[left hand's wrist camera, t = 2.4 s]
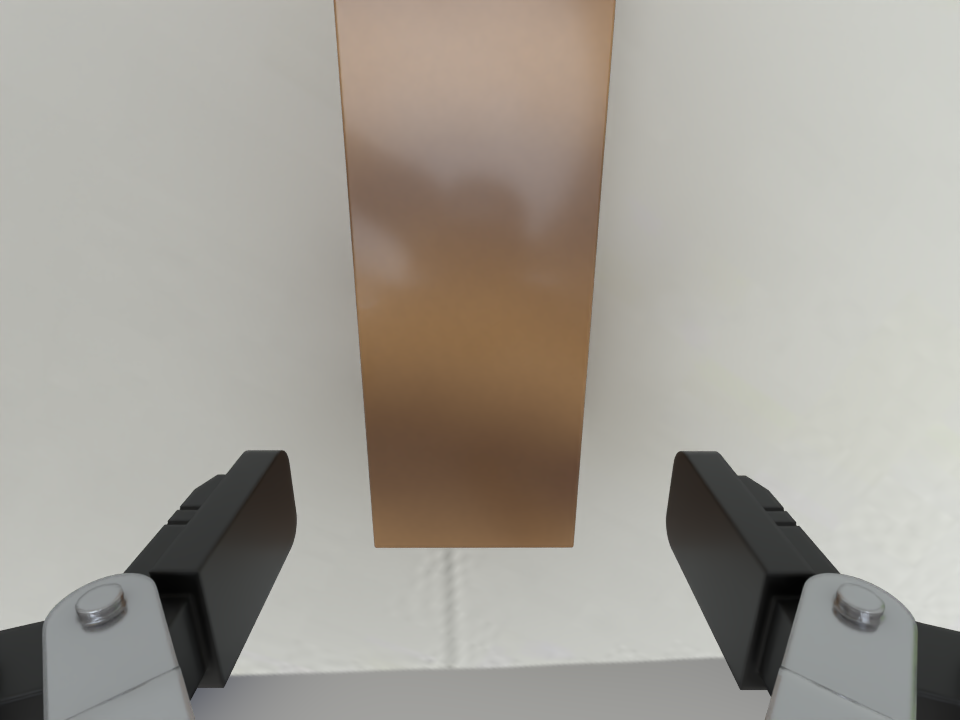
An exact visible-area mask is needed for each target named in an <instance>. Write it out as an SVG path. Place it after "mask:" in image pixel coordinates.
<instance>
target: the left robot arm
mask: <svg viewBox="0 0 960 720" xmlns="http://www.w3.org/2000/svg"><path fill="white" fill-rule="evenodd" d="M296 525H297V515H296V507H295V500H294V493H293V486H292V478H291V471H290V464H289V459H288V456H287V453H286V452H285V451H283V450H248V451H245V452H244V453H243V454H242V455H241V456H240V458H239V459H238V460H237V461H236V463H235V464H234V465H233V467H232V468H231V469H230V470H229V472H228V473H227V474H226V475H216V476H215V477H213V478H212V479H210V480H209V481H207V482H206V483H204V484H202V485H201V486H199V487H198V488H196V489H195V490H194V491H193V492H192V493H191V494H190V496H189V497H188V498H187V499H186V500H185V502H184V503H183V504H182V505H181V506H180V510H177V511H176V512H175V513H174V514H173V516H172V517H171V518H170V519H169V520H168V524H167V525H164V526H163V527H162V528H161V530H160V531H159V532H158V533H157V534H156V535H155V537H154V538H153V539H152V540H151V541H150V543H149V544H148V545H147V546H146V547H145V548H144V550H143V551H142V552H141V553H140V554H139V555H138V557H137V558H136V559H135V560H134V561H133V562H132V564H131V565H130V566H129V567H128V568H127V569H126V571H125V572H124V573H123V574H116V575H112V576H107V577H104V578H101V579H98V580H96V581H93V582H91V583H88V584H86V585H84V586H83V587H81V588H79V589H77V590H75V591H74V592H72V593H71V594H69V595H68V596H66V597H65V598H64V599H62V600H61V601H60V602H59V603H58V604H57V605H56V606H55V607H54V608H53V609H52V610H51V611H50V613H49V614H48V616H47V617H46V619H45V621H41V622H37V623H33V624H28V625H24V626H19V627H15V628H11V629H6V630H2V631H0V720H195V717H194V714H193V710H192V707H191V704H190V700H191V698H192V696H193V695H194V693H195V691H196V689H197V688H224V686H225V684H226V682H227V680H228V678H229V676H230V674H231V672H232V670H233V668H234V666H235V664H236V661H237V659H238V657H239V655H240V653H241V651H242V649H243V647H244V645H245V643H246V641H247V639H248V637H249V634H250V632H251V630H252V628H253V626H254V624H255V622H256V620H257V618H258V616H259V614H260V612H261V609H262V607H263V605H264V603H265V601H266V599H267V597H268V595H269V593H270V591H271V589H272V587H273V585H274V582H275V580H276V578H277V576H278V574H279V572H280V570H281V568H282V566H283V564H284V562H285V560H286V557H287V555H288V553H289V551H290V549H291V547H292V545H293V542H294V538H295V533H296ZM666 529H667V535H668V540H669V543H670V546H671V549H672V551H673V553H674V555H675V557H676V559H677V561H678V563H679V565H680V567H681V569H682V571H683V573H684V575H685V577H686V579H687V581H688V583H689V585H690V588H691V590H692V592H693V594H694V596H695V598H696V600H697V602H698V604H699V606H700V608H701V610H702V612H703V614H704V616H705V618H706V620H707V622H708V625H709V627H710V629H711V631H712V633H713V635H714V637H715V639H716V641H717V643H718V645H719V647H720V649H721V651H722V653H723V655H724V657H725V659H726V661H727V663H728V666H729V668H730V670H731V672H732V674H733V676H734V678H735V680H736V682H737V684H738V686H739V688H740V690H768V692H769V694H770V696H771V700H770V703H769V707H768V710H767V714H766V717H765V720H960V632H959V631H954V630H950V629H945V628H941V627H937V626H932V625H928V624H923V623H920V622H916V621H915V619H914V617H913V616H912V614H911V613H910V611H909V610H908V609H907V608H906V607H905V606H904V605H903V604H902V603H901V602H900V601H899V600H898V599H896V598H895V597H894V596H892V595H891V594H889V593H888V592H886V591H885V590H883V589H881V588H879V587H877V586H876V585H874V584H872V583H869V582H867V581H864V580H862V579H859V578H856V577H853V576H848V575H844V574H840V573H839V572H838V570H837V569H836V568H835V567H834V566H833V565H832V563H831V562H830V561H829V560H828V559H827V558H826V556H825V555H824V554H823V553H822V552H821V551H820V550H819V548H818V547H817V546H816V545H815V544H814V543H813V541H812V540H811V539H810V538H809V537H808V536H807V534H806V533H805V532H804V531H803V530H802V529H801V527H800V526H796V522H795V520H794V519H793V518H792V517H791V516H790V515H789V513H788V512H787V511H784V508H783V507H782V505H781V504H780V503H779V502H778V501H777V500H776V498H775V497H774V496H773V495H772V494H771V493H770V491H769V490H767V489H766V488H764V487H762V486H761V485H759V484H758V483H756V482H755V481H753V480H752V479H750V478H748V477H747V476H737V474H736V473H735V472H734V471H733V470H732V468H731V467H730V466H729V465H728V463H727V462H726V461H725V460H724V458H723V457H722V456H721V455H720V454H719V453H718V452H716V451H680V452H678V453H677V454H676V456H675V459H674V464H673V471H672V479H671V486H670V493H669V500H668V507H667V514H666Z"/></svg>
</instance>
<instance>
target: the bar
mask: <svg viewBox="0 0 960 720" xmlns="http://www.w3.org/2000/svg"><path fill="white" fill-rule="evenodd" d="M615 5H616V0H334V12H335V26H336V39H337V52H338V66H339V79H340V92H341V106H342V119H343V132H344V146H345V159H346V172H347V186H348V199H349V213H350V226H351V239H352V253H353V266H354V279H355V293H356V306H357V319H358V333H359V346H360V359H361V373H362V386H363V399H364V413H365V426H366V439H367V453H368V466H369V479H370V493H371V506H372V520H373V533H374V546H375V547H376V548H507V547H573V545H574V533H575V520H576V507H577V494H578V481H579V468H580V455H581V443H582V430H583V417H584V404H585V391H586V378H587V365H588V352H589V340H590V327H591V314H592V301H593V288H594V275H595V262H596V249H597V237H598V224H599V211H600V198H601V185H602V172H603V159H604V146H605V133H606V121H607V108H608V95H609V82H610V69H611V56H612V43H613V30H614V18H615Z"/></svg>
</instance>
